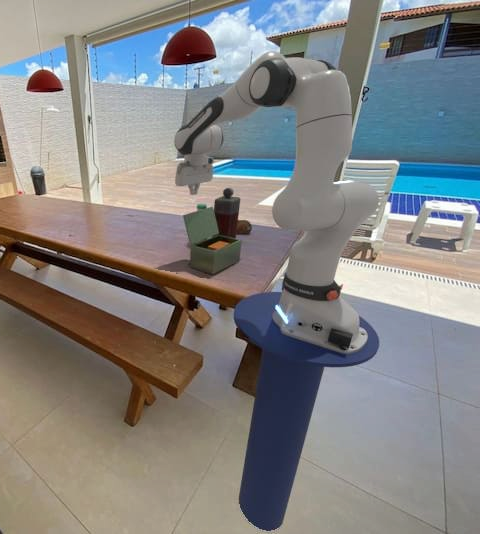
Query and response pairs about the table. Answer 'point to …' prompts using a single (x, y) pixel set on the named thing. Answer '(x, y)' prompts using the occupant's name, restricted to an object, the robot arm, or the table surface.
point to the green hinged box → (215, 254)
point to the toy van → (217, 245)
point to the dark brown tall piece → (227, 213)
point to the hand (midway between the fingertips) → (193, 194)
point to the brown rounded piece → (244, 226)
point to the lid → (201, 224)
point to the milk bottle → (200, 207)
